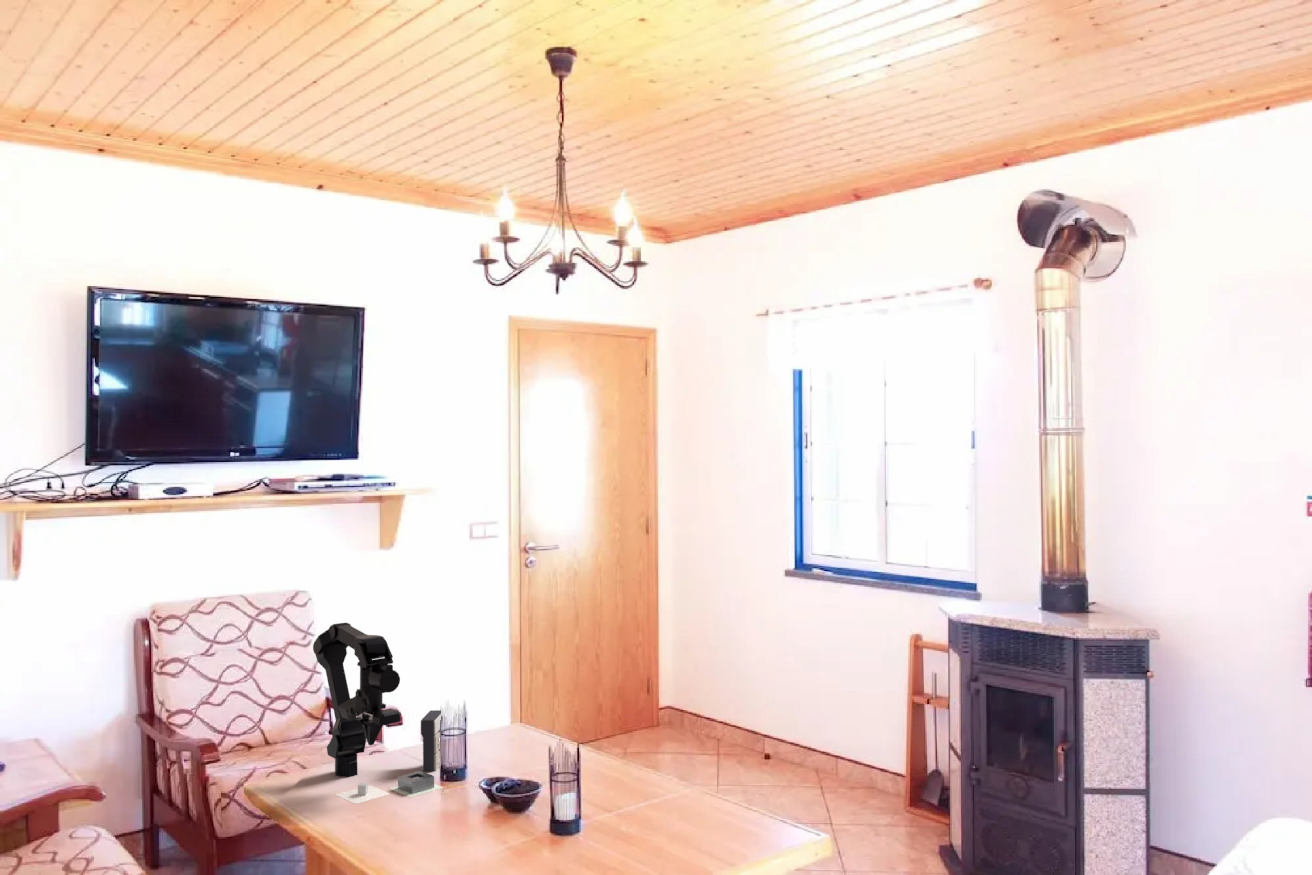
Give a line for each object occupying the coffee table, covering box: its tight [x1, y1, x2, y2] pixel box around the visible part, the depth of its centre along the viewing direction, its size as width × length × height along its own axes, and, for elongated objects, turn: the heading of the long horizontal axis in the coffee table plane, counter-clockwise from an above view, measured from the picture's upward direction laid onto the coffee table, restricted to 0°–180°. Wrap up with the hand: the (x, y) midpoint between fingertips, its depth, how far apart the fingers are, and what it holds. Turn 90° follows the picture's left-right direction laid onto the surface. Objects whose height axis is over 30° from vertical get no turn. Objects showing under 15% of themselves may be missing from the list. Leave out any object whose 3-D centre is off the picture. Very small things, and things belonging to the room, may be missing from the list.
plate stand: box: [335, 782, 391, 805], centre depth 258 cm, size 10×10×4 cm
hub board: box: [388, 777, 445, 798], centre depth 263 cm, size 10×10×4 cm
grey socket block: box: [397, 770, 435, 794], centre depth 263 cm, size 7×7×3 cm
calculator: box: [420, 709, 441, 773], centre depth 282 cm, size 11×4×15 cm, turn 179°
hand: (370, 744), depth 265 cm, fingers closed
